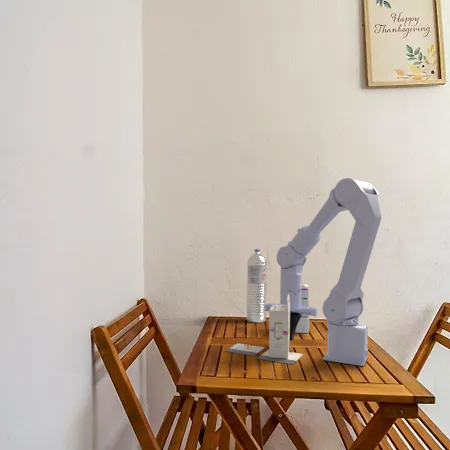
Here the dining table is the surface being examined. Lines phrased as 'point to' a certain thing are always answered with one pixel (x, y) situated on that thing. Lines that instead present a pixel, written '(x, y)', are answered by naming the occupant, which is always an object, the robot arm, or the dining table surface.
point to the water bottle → (256, 288)
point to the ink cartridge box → (279, 330)
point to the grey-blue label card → (242, 349)
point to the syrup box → (304, 320)
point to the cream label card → (291, 358)
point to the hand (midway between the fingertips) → (290, 339)
